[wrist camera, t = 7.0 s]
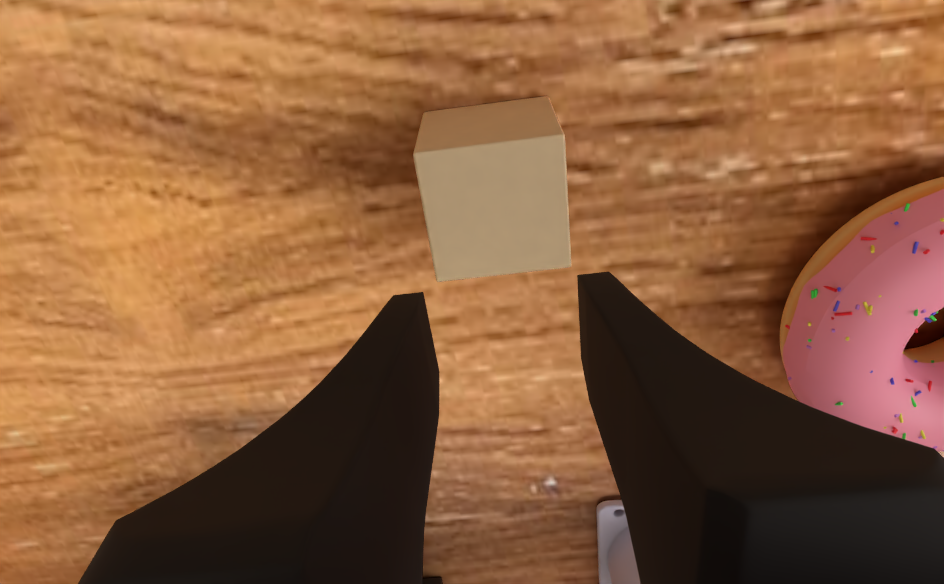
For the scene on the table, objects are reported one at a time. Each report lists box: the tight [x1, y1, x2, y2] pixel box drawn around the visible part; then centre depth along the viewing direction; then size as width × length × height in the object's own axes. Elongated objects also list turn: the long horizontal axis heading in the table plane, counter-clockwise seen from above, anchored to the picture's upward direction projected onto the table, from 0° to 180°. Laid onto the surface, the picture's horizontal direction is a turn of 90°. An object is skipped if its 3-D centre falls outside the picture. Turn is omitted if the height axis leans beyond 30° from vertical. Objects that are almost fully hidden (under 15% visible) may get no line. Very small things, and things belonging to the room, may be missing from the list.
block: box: [413, 96, 571, 282], centre depth 19 cm, size 4×4×4 cm
